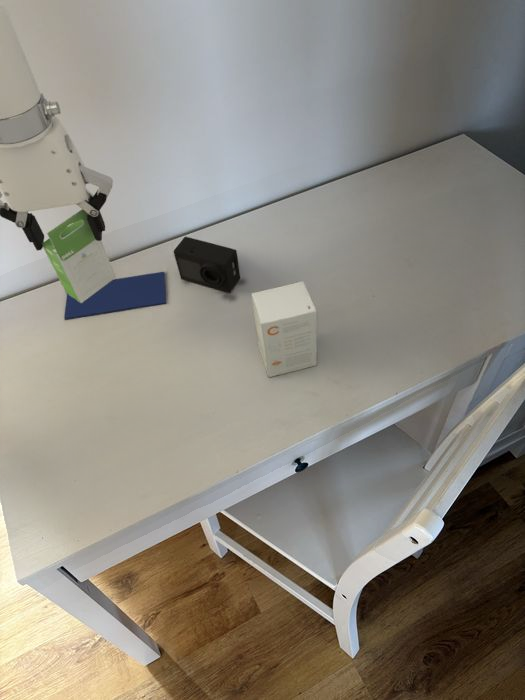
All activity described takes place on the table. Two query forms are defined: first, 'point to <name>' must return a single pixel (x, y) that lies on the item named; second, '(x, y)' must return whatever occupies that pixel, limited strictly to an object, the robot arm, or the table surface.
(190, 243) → the digital camera
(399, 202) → the table surface
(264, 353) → the small box
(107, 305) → the cloth
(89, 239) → the ink box
